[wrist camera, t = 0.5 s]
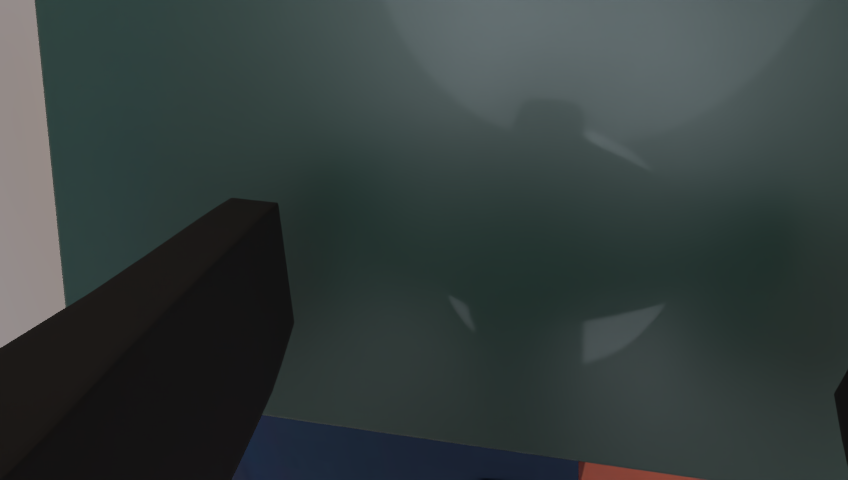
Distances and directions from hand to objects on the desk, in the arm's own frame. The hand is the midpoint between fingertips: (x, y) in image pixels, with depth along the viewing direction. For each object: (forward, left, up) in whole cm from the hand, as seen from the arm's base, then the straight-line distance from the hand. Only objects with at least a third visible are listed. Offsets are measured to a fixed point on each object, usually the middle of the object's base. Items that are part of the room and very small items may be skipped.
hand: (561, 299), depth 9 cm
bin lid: (+1, +1, -3) cm, 4 cm away
